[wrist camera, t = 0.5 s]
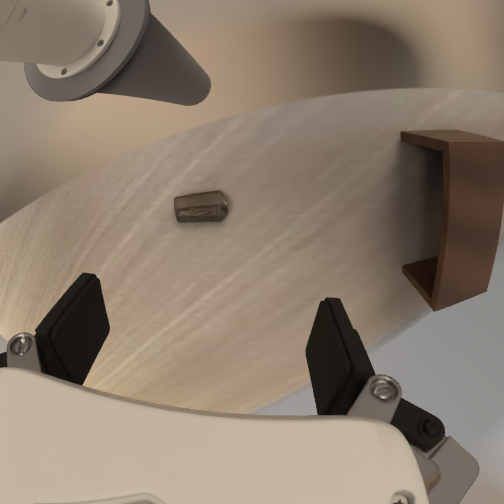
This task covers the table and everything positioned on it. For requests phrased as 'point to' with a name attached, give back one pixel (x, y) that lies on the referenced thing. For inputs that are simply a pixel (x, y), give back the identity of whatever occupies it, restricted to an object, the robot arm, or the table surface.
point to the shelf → (462, 217)
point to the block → (201, 207)
